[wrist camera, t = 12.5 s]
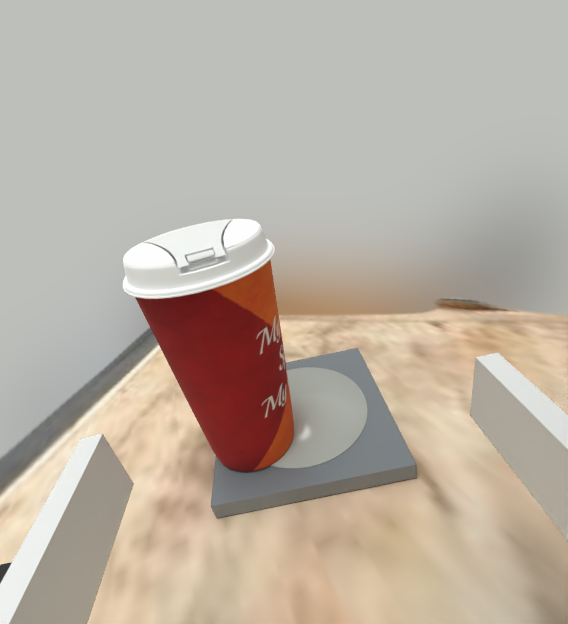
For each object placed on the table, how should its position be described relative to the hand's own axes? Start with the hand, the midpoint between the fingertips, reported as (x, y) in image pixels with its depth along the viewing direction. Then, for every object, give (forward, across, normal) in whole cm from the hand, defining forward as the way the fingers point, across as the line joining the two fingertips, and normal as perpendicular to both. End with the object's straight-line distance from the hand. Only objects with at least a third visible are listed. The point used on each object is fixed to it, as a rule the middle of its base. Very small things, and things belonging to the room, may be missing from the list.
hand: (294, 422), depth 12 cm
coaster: (+10, 0, -10) cm, 14 cm away
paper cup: (+8, -3, -9) cm, 12 cm away
